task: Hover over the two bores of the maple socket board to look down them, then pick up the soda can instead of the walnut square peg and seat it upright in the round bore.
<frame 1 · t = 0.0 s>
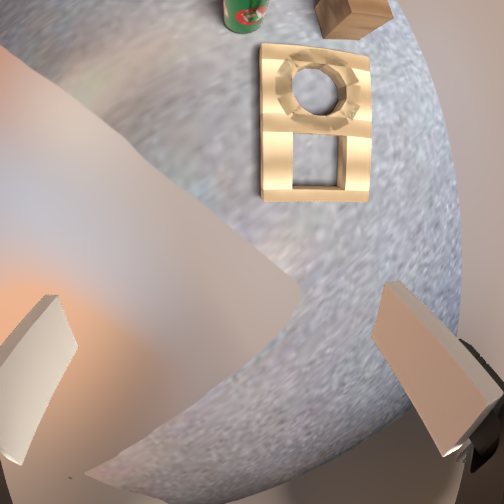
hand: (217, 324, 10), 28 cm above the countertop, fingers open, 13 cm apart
walnut square peg: (336, 23, 28), on the countertop
soda can: (243, 20, 27), on the countertop
socket board: (313, 123, 33), on the countertop
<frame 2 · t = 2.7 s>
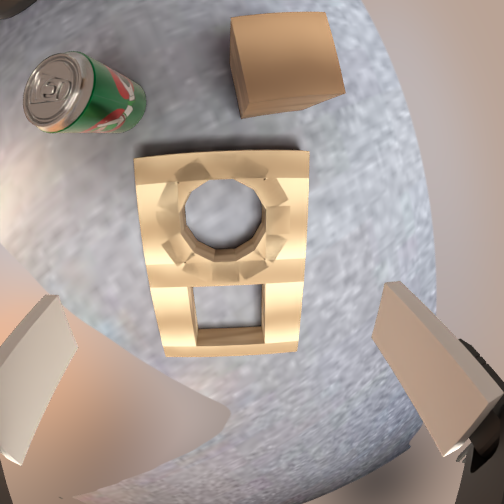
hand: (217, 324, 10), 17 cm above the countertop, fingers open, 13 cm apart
walnut square peg: (266, 85, 22), on the countertop
soda can: (123, 107, 21), on the countertop
socket board: (225, 256, 27), on the countertop
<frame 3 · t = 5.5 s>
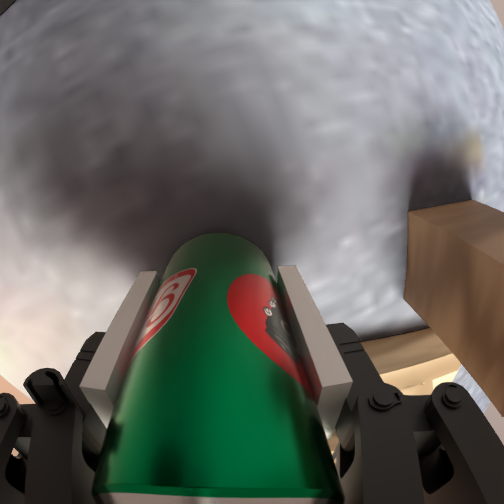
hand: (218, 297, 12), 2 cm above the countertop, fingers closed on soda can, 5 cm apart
walnut square peg: (441, 248, 14), on the countertop
soda can: (219, 277, 14), on the countertop, touching gripper
socket board: (340, 425, 20), on the countertop
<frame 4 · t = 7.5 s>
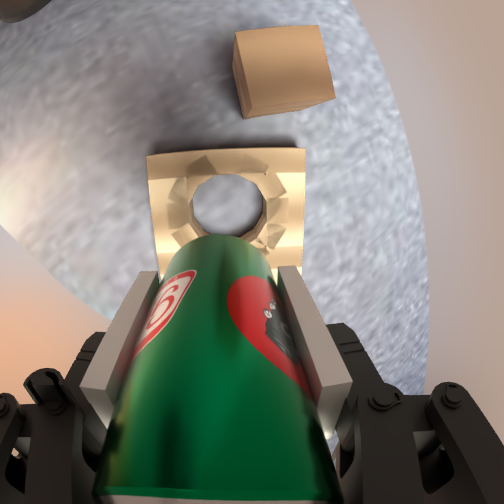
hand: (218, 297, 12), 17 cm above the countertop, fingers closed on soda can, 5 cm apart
walnut square peg: (265, 88, 24), on the countertop
soda can: (219, 278, 14), point 15 cm above the countertop, touching gripper
socket board: (229, 245, 30), on the countertop
when the fingers open (4 cm above the countertop, at t = 9.6 s): soda can drops 2 cm, resting in socket board.
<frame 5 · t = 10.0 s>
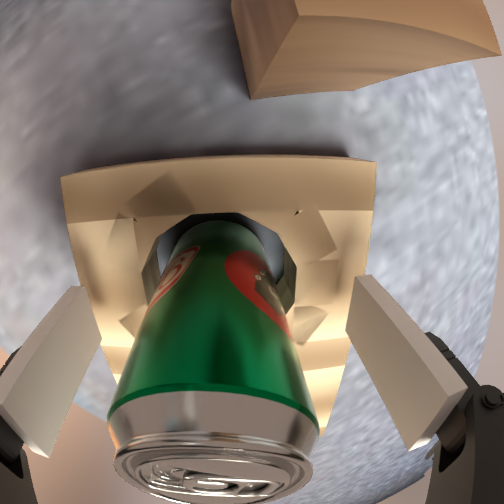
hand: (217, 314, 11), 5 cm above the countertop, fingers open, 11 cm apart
walnut square peg: (293, 46, 11), on the countertop
soda can: (219, 260, 16), resting in socket board
socket board: (224, 325, 17), on the countertop
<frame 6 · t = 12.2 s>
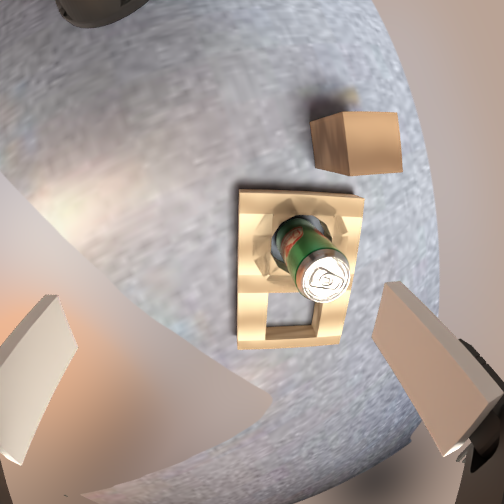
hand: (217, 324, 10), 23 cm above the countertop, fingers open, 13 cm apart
walnut square peg: (334, 143, 30), on the countertop
soda can: (295, 237, 34), resting in socket board
socket board: (293, 270, 35), on the countertop
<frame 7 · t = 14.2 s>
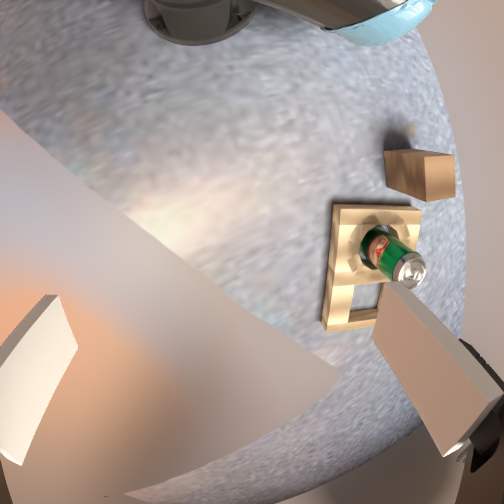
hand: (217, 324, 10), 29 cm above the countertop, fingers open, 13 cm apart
walnut square peg: (399, 167, 37), on the countertop
soda can: (370, 240, 41), resting in socket board
socket board: (367, 266, 43), on the countertop
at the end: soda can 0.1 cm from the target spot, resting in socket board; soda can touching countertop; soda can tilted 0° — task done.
